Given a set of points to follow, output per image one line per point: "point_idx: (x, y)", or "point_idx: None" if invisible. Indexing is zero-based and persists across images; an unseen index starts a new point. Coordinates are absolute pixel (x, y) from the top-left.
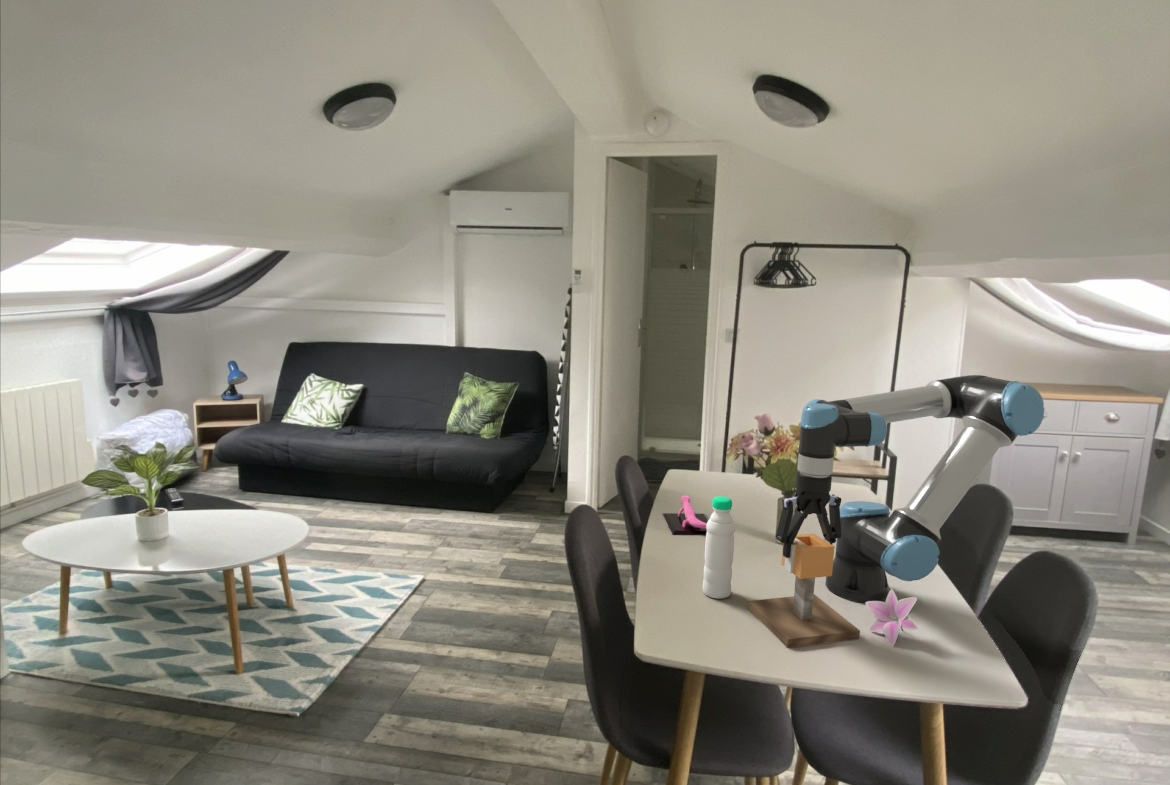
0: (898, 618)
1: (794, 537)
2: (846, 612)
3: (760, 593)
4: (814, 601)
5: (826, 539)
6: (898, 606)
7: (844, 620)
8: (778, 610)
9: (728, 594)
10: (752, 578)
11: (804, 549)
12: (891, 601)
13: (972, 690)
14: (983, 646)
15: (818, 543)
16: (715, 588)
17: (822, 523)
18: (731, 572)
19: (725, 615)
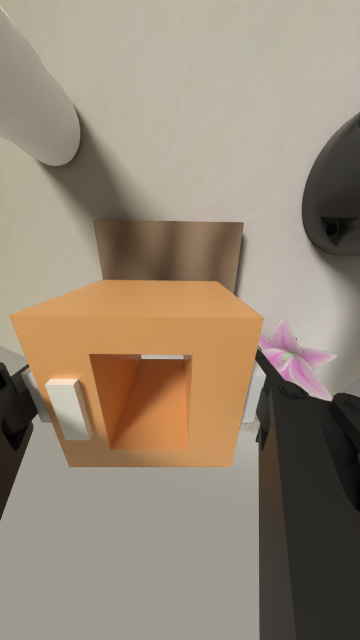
0: (294, 356)
1: (10, 470)
2: (264, 275)
3: (153, 155)
4: (222, 253)
5: (260, 407)
6: (305, 368)
7: None
8: (137, 270)
9: (67, 159)
10: (172, 42)
11: (80, 463)
12: (310, 355)
13: (256, 428)
14: (349, 382)
15: (188, 423)
16: (19, 147)
17: (267, 605)
18: (33, 113)
19: (52, 238)
